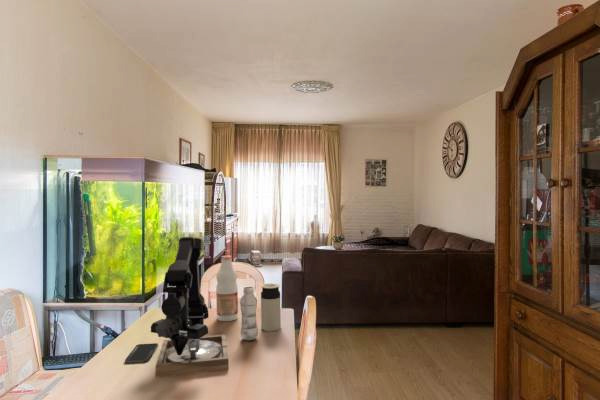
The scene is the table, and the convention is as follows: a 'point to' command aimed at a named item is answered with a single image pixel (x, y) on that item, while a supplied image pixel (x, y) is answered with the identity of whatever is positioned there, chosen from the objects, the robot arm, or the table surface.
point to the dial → (195, 351)
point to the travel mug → (270, 307)
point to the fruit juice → (227, 291)
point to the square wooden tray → (194, 365)
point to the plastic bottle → (248, 314)
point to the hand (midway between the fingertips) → (179, 354)
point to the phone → (141, 353)
